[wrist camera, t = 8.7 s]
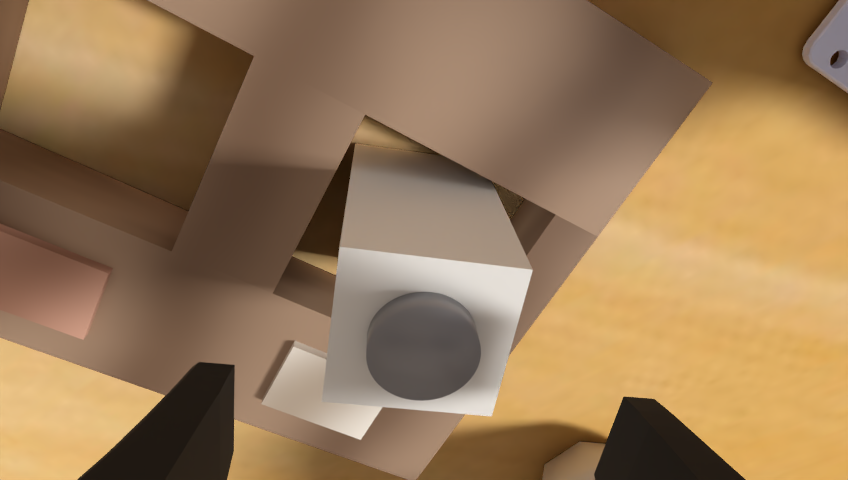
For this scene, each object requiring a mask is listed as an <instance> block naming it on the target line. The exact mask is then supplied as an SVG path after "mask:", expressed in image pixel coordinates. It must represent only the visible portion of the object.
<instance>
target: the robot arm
mask: <svg viewBox="0 0 848 480" xmlns="http://www.w3.org/2000/svg"><path fill="white" fill-rule="evenodd" d="M837 51H838V52H839V57H838V59H837V61H836V62H835V63H834V64H833V65H830V59H831V57H832V55H833V54H834V53H836V52H837ZM802 56H803V60H804V61H805V63H806V64H807V65H808V66H810V67H811V68H813V69H814V70H816V71H817V72H818V73H820V74H821V75H823V76H824V77H825V78H827V79H828V80H830V81H831V82H832V83H834V84H835V85H837V86H838V87H840V88H841V89H842V90H844V91H845V92H847V93H848V0H839V1H838V2H837V3H836V5H835V6H834V7H833V9H832V10H831V11H830V12H829V14H828V15H827V16H826V17H825V19H824V20H823V21H822V22H821V24H820V25H819V26H818V28H817V29H816V30H815V31H814V33H813V34H812V35H811V36H810V38H809V39H808V40H807V42H806V44H805V45H804V47H803V52H802ZM234 381H235V365H231V364H219V363H206V362H198V363H197V364H195V365H194V366H193V367H192V368H191V369H190V370H189V371H188V372H187V373H186V374H185V375H184V376H183V378H182V379H181V380H180V381H179V382H178V383H177V384H176V385H175V386H174V387H173V388H172V389H171V390H170V392H169V393H168V394H167V395H166V396H165V397H164V398H163V399H162V400H161V401H160V402H159V403H158V404H157V405H156V406H155V407H154V408H153V409H152V410H151V411H150V412H149V413H148V414H147V415H146V416H145V417H144V418H143V419H142V420H141V421H140V422H139V423H138V424H137V425H136V426H135V427H134V428H133V429H132V430H131V431H130V432H129V433H128V434H127V435H126V436H125V437H124V438H123V439H122V440H121V441H120V442H119V443H117V444H116V445H115V446H114V447H113V448H112V449H111V450H110V451H109V452H108V453H107V454H106V455H105V456H104V457H103V458H101V459H100V460H99V461H98V462H97V463H96V464H95V465H93V466H92V467H91V468H90V469H89V470H88V471H87V472H85V473H84V474H83V475H82V476H81V477H80V478H79V479H78V480H227V476H228V472H229V468H230V464H231V460H232V455H233V451H234ZM594 477H595V480H745V479H744V478H743V477H742V476H741V475H740V474H739V473H738V472H736V471H735V470H734V469H733V468H732V467H731V466H730V465H729V464H727V463H726V462H725V461H724V460H723V459H722V458H721V457H720V456H718V455H717V454H716V453H715V452H714V451H713V450H712V449H711V448H710V447H709V446H707V445H706V444H705V443H704V442H703V441H702V440H701V439H700V438H699V437H697V436H696V435H695V434H694V433H693V432H692V431H691V430H690V429H689V428H687V427H686V426H685V425H684V424H683V423H682V422H681V421H680V420H678V419H677V418H676V417H675V416H674V415H673V414H672V413H670V412H669V411H668V410H667V409H666V408H665V407H663V406H662V405H661V404H660V403H658V402H657V401H656V400H655V399H647V398H635V397H623V400H622V403H621V405H620V408H619V410H618V413H617V416H616V418H615V421H614V423H613V426H612V429H611V431H610V434H609V436H608V439H607V442H606V444H605V447H604V449H603V452H602V455H601V457H600V460H599V462H598V465H597V468H596V470H595V473H594Z"/></svg>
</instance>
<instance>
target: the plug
mask: <svg viewBox="0 0 848 480" xmlns="http://www.w3.org/2000/svg"><path fill="white" fill-rule="evenodd" d="M532 271H533V269H532V267H531V265H530V263H529V260H528V258H527V256H526V254H525V252H524V250H523V247H522V245H521V243H520V241H519V239H518V237H517V235H516V232H515V230H514V228H513V226H512V224H511V222H510V219H509V217H508V215H507V213H506V211H505V209H504V206H503V204H502V202H501V200H500V198H499V196H498V194H497V191H496V189H495V187H494V185H493V183H492V181H491V180H489V179H487V178H485V177H483V176H481V175H479V174H477V173H476V172H474V171H472V170H470V169H468V168H466V167H464V166H462V165H460V164H458V163H456V162H455V161H453V160H451V159H449V158H447V157H445V156H442V155H435V154H428V153H421V152H414V151H407V150H400V149H392V148H385V147H378V146H371V145H364V144H357V143H355V149H354V155H353V162H352V168H351V175H350V181H349V188H348V194H347V201H346V208H345V214H344V221H343V227H342V234H341V240H340V247H339V256H338V264H337V273H336V282H335V290H334V299H333V308H332V316H331V325H330V333H329V342H328V351H327V359H326V368H325V377H324V385H323V394H322V402H330V403H342V404H353V405H365V406H377V407H388V408H400V409H412V410H423V411H435V412H447V413H458V414H470V415H482V416H492V414H493V410H494V407H495V403H496V399H497V396H498V392H499V389H500V385H501V382H502V378H503V374H504V371H505V367H506V364H507V360H508V357H509V353H510V350H511V346H512V342H513V339H514V335H515V332H516V328H517V325H518V321H519V318H520V314H521V310H522V307H523V303H524V300H525V296H526V293H527V289H528V285H529V282H530V278H531V275H532Z"/></svg>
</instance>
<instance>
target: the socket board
mask: <svg viewBox="0 0 848 480" xmlns="http://www.w3.org/2000/svg"><path fill="white" fill-rule="evenodd" d="M148 1H150V2H152V3H154V4H156V5H157V6H159V7H161V8H163V9H165V10H167V11H169V12H171V13H173V14H175V15H177V16H178V17H180V18H182V19H184V20H186V21H188V22H190V23H192V24H194V25H196V26H197V27H199V28H201V29H203V30H205V31H207V32H209V33H211V34H213V35H215V36H217V37H218V38H220V39H222V40H224V41H226V42H228V43H230V44H232V45H234V46H236V47H237V48H239V49H241V50H243V51H245V52H247V53H249V54H251V55H253V56H254V57H253V60H252V62H251V65H250V67H249V69H248V72H247V74H246V76H245V79H244V81H243V84H242V86H241V88H240V91H239V93H238V95H237V98H236V100H235V102H234V105H233V107H232V110H231V112H230V114H229V117H228V119H227V121H226V124H225V126H224V129H223V131H222V133H221V136H220V138H219V140H218V143H217V145H216V147H215V150H214V152H213V155H212V157H211V159H210V162H209V164H208V166H207V169H206V171H205V174H204V176H203V178H202V181H201V183H200V185H199V188H198V190H197V192H196V195H195V197H194V200H193V202H192V204H191V207H190V209H189V211H186V210H184V209H182V208H180V207H177V206H175V205H173V204H170V203H168V202H166V201H164V200H161V199H159V198H157V197H154V196H152V195H150V194H148V193H145V192H143V191H141V190H138V189H136V188H134V187H132V186H129V185H127V184H125V183H122V182H120V181H118V180H116V179H113V178H111V177H109V176H106V175H104V174H102V173H100V172H97V171H95V170H93V169H90V168H88V167H86V166H84V165H81V164H79V163H77V162H74V161H72V160H70V159H68V158H65V157H63V156H61V155H58V154H56V153H54V152H52V151H49V150H47V149H45V148H42V147H40V146H38V145H36V144H33V143H31V142H29V141H26V140H24V139H22V138H20V137H17V136H15V135H13V134H10V133H8V132H6V131H4V130H1V129H0V338H3V339H6V340H8V341H11V342H14V343H17V344H20V345H23V346H26V347H29V348H31V349H34V350H37V351H40V352H43V353H46V354H49V355H51V356H54V357H57V358H60V359H63V360H66V361H69V362H72V363H74V364H77V365H80V366H83V367H86V368H89V369H92V370H94V371H97V372H100V373H103V374H106V375H109V376H112V377H115V378H117V379H120V380H123V381H126V382H129V383H132V384H135V385H137V386H140V387H143V388H146V389H149V390H152V391H155V392H157V393H160V394H163V395H167V394H168V393H169V392H170V390H171V389H172V388H173V387H174V386H175V385H176V384H177V383H178V382H179V381H180V380H181V379H182V378H183V376H184V375H185V374H186V373H187V372H188V371H189V370H190V369H191V368H192V367H193V366H194V365H195V364H197V363H198V362H206V363H219V364H231V365H235V381H234V419H235V420H238V421H241V422H243V423H246V424H249V425H252V426H255V427H258V428H261V429H264V430H266V431H269V432H272V433H275V434H278V435H281V436H284V437H286V438H289V439H292V440H295V441H298V442H301V443H304V444H307V445H309V446H312V447H315V448H318V449H321V450H324V451H327V452H329V453H332V454H335V455H338V456H341V457H344V458H347V459H350V460H352V461H355V462H358V463H361V464H364V465H367V466H370V467H372V468H375V469H378V470H381V471H384V472H387V473H390V474H393V475H395V476H398V477H401V478H404V479H407V480H416V479H417V478H418V477H419V475H420V474H421V473H422V471H423V470H424V469H425V467H426V466H427V465H428V463H429V462H430V461H431V459H432V458H433V457H434V455H435V454H436V453H437V451H438V450H439V449H440V447H441V446H442V445H443V443H444V442H445V441H446V439H447V438H448V437H449V435H450V434H451V433H452V431H453V430H454V429H455V427H456V426H457V425H458V423H459V422H460V421H461V419H462V418H463V417H464V415H465V414H458V413H447V412H435V411H423V410H412V409H400V408H388V407H377V406H365V405H353V404H342V403H330V402H322V394H323V385H324V377H325V368H326V359H327V351H328V342H329V333H330V325H331V316H332V308H333V299H334V290H335V282H336V276H335V275H333V274H330V273H328V272H326V271H324V270H321V269H319V268H317V267H314V266H312V265H310V264H308V263H305V262H303V261H301V260H298V259H296V258H294V257H292V255H293V253H294V251H295V249H296V247H297V245H298V243H299V241H300V240H301V238H302V236H303V234H304V232H305V230H306V228H307V226H308V224H309V222H310V220H311V218H312V216H313V214H314V213H315V211H316V209H317V207H318V205H319V203H320V201H321V199H322V197H323V195H324V193H325V191H326V189H327V187H328V185H329V184H330V182H331V180H332V178H333V176H334V174H335V172H336V170H337V168H338V166H339V164H340V162H341V160H342V158H343V157H344V155H345V153H346V151H347V149H348V147H349V145H350V143H351V141H352V139H353V137H354V135H355V133H356V131H357V129H358V128H359V126H360V124H361V122H362V120H363V118H364V116H365V115H367V116H369V117H371V118H373V119H375V120H376V121H378V122H380V123H382V124H384V125H386V126H388V127H390V128H392V129H394V130H396V131H397V132H399V133H401V134H403V135H405V136H407V137H409V138H411V139H413V140H415V141H416V142H418V143H420V144H422V145H424V146H426V147H428V148H430V149H432V150H434V151H436V152H437V153H439V154H441V155H443V156H445V157H447V158H449V159H451V160H453V161H455V162H456V163H458V164H460V165H462V166H464V167H466V168H468V169H470V170H472V171H474V172H476V173H477V174H479V175H481V176H483V177H485V178H487V179H489V180H491V181H493V182H495V183H496V184H498V185H500V186H502V187H504V188H506V189H508V190H510V191H512V192H514V193H516V194H517V195H519V196H521V197H523V198H525V199H524V201H523V202H522V204H521V205H520V207H519V208H518V210H517V211H516V213H515V214H514V216H513V217H512V219H511V220H510V222H511V224H512V226H513V228H514V230H515V232H516V235H517V237H518V239H519V241H520V243H521V245H522V247H523V250H524V252H525V254H526V256H527V258H528V260H529V263H530V265H531V267H532V269H533V271H532V275H531V278H530V282H529V285H528V289H527V293H526V296H525V300H524V303H523V307H522V310H521V314H520V318H519V321H518V325H517V328H516V332H515V335H514V339H513V342H512V346H511V350H510V353H509V355H510V354H511V352H512V351H513V350H514V348H515V347H516V345H517V344H518V343H519V341H520V340H521V339H522V337H523V336H524V335H525V333H526V332H527V331H528V329H529V328H530V327H531V325H532V324H533V323H534V321H535V320H536V319H537V317H538V316H539V315H540V313H541V312H542V311H543V309H544V308H545V307H546V305H547V304H548V303H549V301H550V300H551V299H552V297H553V296H554V295H555V293H556V292H557V291H558V289H559V288H560V287H561V285H562V284H563V283H564V281H565V280H566V278H567V277H568V276H569V274H570V273H571V272H572V270H573V269H574V268H575V266H576V265H577V264H578V262H579V261H580V260H581V258H582V257H583V256H584V254H585V253H586V252H587V250H588V249H589V248H590V246H591V245H592V244H593V242H594V241H595V240H596V238H597V237H598V236H599V234H600V233H601V232H602V230H603V229H604V228H605V226H606V225H607V224H608V222H609V221H610V220H611V218H612V217H613V215H614V214H615V213H616V211H617V210H618V209H619V207H620V206H621V205H622V203H623V202H624V201H625V199H626V198H627V197H628V195H629V194H630V193H631V191H632V190H633V189H634V187H635V186H636V185H637V183H638V182H639V181H640V179H641V178H642V177H643V175H644V174H645V173H646V171H647V170H648V169H649V167H650V166H651V165H652V163H653V162H654V161H655V159H656V158H657V157H658V155H659V154H660V153H661V151H662V150H663V148H664V147H665V146H666V144H667V143H668V142H669V140H670V139H671V138H672V136H673V135H674V134H675V132H676V131H677V130H678V128H679V127H680V126H681V124H682V123H683V122H684V120H685V119H686V118H687V116H688V115H689V114H690V112H691V111H692V110H693V108H694V107H695V106H696V104H697V103H698V102H699V100H700V99H701V98H702V96H703V95H704V94H705V92H706V91H707V90H708V88H709V87H710V86H711V84H712V82H711V81H709V80H708V79H706V78H705V77H703V76H702V75H700V74H699V73H697V72H696V71H694V70H693V69H691V68H690V67H688V66H687V65H685V64H683V63H682V62H680V61H679V60H677V59H676V58H674V57H673V56H671V55H670V54H668V53H667V52H665V51H664V50H662V49H661V48H659V47H658V46H656V45H655V44H653V43H651V42H650V41H648V40H647V39H645V38H644V37H642V36H641V35H639V34H638V33H636V32H635V31H633V30H632V29H630V28H629V27H627V26H626V25H624V24H622V23H621V22H619V21H618V20H616V19H615V18H613V17H612V16H610V15H609V14H607V13H606V12H604V11H603V10H601V9H600V8H598V7H597V6H595V5H594V4H592V3H590V2H589V1H587V0H148ZM28 2H29V0H0V109H1V105H2V102H3V98H4V94H5V90H6V86H7V82H8V79H9V75H10V71H11V67H12V63H13V59H14V55H15V52H16V48H17V44H18V40H19V36H20V32H21V28H22V25H23V21H24V17H25V13H26V9H27V5H28Z"/></svg>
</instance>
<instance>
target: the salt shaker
mask: <svg viewBox="0 0 848 480" xmlns="http://www.w3.org/2000/svg"><path fill="white" fill-rule="evenodd" d="M604 447H605V444H604V443H593V442H581V441H580V442H578V443H577V444H575V445H574V446H572V447H570V448H569V449H567V450H566V451H564V452H563V453H561V454H560V455H558V456H557V457H555V458H554V459H552V460H550V461H549V462H547V463H546V464H544V471H543V478H542V480H595V477H594V473H595V470H596V468H597V465H598V462H599V460H600V457H601V455H602V452H603V449H604Z"/></svg>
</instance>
